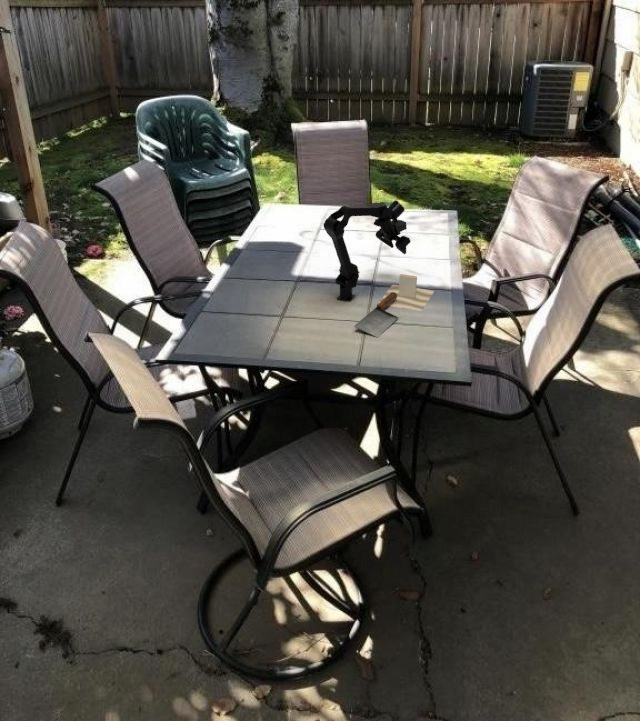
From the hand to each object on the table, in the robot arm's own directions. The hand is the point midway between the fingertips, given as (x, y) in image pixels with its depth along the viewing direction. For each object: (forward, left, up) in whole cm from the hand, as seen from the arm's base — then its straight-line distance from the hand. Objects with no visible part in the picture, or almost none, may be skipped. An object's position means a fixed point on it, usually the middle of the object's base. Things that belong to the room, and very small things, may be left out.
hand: (398, 250), depth 305 cm
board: (-19, -10, -15) cm, 26 cm away
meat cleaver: (-40, -6, -14) cm, 43 cm away
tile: (-18, -10, -14) cm, 25 cm away
